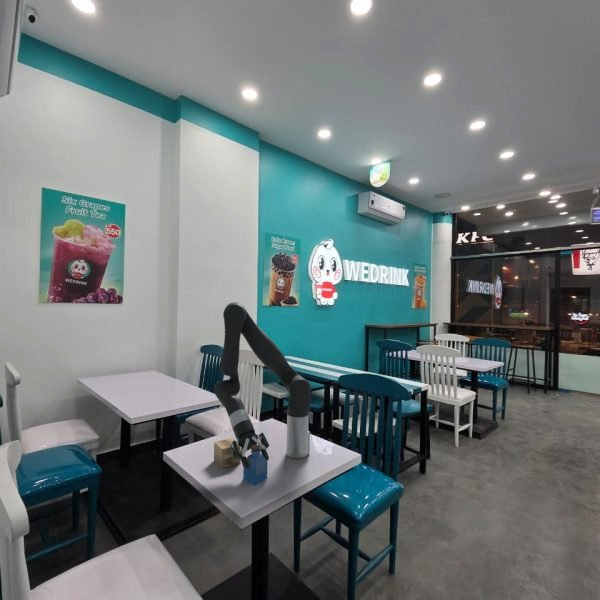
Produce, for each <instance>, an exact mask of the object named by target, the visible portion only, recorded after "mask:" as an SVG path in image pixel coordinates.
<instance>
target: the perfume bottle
mask: <svg viewBox="0 0 600 600" xmlns="http://www.w3.org/2000/svg"><path fill="white" fill-rule="evenodd" d="M250 450H251V451H250V453H251V454H249V455H247V456H246V458H247V461H248V463H249V467H248V468H247V469H245V468H244V467H243V470H242V472H243V473H242V474H243V478H242V480H243V481H245V482H247V483H249V484H250V485H253V486H257V485H258V483H259V484H260V482H261V483H262V482H264V481H266V480H267V479H268V461H267V460H266V459H265V457H264V456H263V455H262V454H261V449H260V446H259V445H258V444H257V445H253V446H252V449H250ZM265 479H266V480H265ZM256 484H257V485H256Z"/></svg>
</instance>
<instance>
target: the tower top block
mask: <svg viewBox="0 0 600 600" xmlns="http://www.w3.org/2000/svg"><path fill="white" fill-rule="evenodd" d="M234 440H235V441H237V439H235V438H234V437H230V438H226V439H222V440H217V441H214V442H213V443H214V446H213V453H214V452H215V453H216V454H217V455H218V456H219V457H220V459H221V460H222V459H226V458H229V457H233V456H234V455H233V452H232V448H231V443H232V442H233V441H234ZM238 450H239V453H240V451H241V447H240V446H239V445H238Z"/></svg>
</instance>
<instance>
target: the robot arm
mask: <svg viewBox="0 0 600 600" xmlns="http://www.w3.org/2000/svg"><path fill="white" fill-rule="evenodd" d="M222 315H223V322H224V323H223V324H224V325H223V326H224V341H223V348H222V354H221V363H220V374H222V375H223V376H227V377H229V379H223V380H218V381H216V383H215V384H214V387H213V390H214V394H215V396H216V398H217V399H218V401H219V402H220V403H221V405H222V407H223V408H225V411H226V413H227V416H228V419H229V423H230V427H231V428H232V431H233V433H234V436H235V438H236V439H234V441H233V442H232V443H231V448H232V452H233V455H234V458H235V459H240V460H241V464H242V467H243V469H244V468H245V469H247V468H248V467H249V463H248V461H247V456H245V455H246V452H248V451H250V450H251V449H252V446H253V445H259V446H260V449H261V451H260V454H261V455H263V456H264V457H265V459H266V460H267V462H268V461H269V459H270V456H269V454H268V451H267V449H268V448H269V447H270V443H269V442H268V440H267V438H266V436H265V433H264V432H260V433H259V434H257V433H256V431H255V426H254V425H253V423H252V420H251V418H250V415H249V414H248V411H247V410H246V407H245V405H244V402H243V401H242V399H241V398H240V397H235V396H237V395H239V392H240V391H241V382H240V376H239V362H240V345H241V344H240V342H241V335H242V336H243V337H244V339H245V341H246V343H247V345H248V346H249V347H250V349H251V351H252V352H253V353H254V354H255V356H256V357H257V358H258V360H259V361H260V362H261V363H262V364H263V365H264V366H265V367H266V368H267V369H268V370H269V371H270V372H272V373H273V374H274V375H275V376H276V377H277V379H279V381H280V382H281V384H282V385H283V387H284V388H285V390H286V391H287V393H288V394H289V405H288V406H287V409H286V411H287V412H286V414H287V415H286V416H287V417H286V452H285V453H286V456H287V457H288V458H290V459H303V458H306V457H307V456H308V455H310V454H311V453H310V449H311V446H310V445H311V443H310V442H311V432H310V431H309V414H310V413H309V411H310V409H311V397H312V396H311V395H312V393H311V392H312V389H311V384H310V382H309V381H308V380H307V379H306V378H305V377H303V376H302V375H300V374H299V373H298V372H297V371H296V370H295V369H294V368H293V367H292V366H291V365H290V364H289V363H288V360H287V359H286V357H285V355H284V354H283V353H282V351H281V349H280V348H279V347H278V345H277V344H276V343H275V342H274V341H273V340H272V338H270V337H269V336H268V335H267V333H266V332H264V330H263V329H261V327H260V326H258V325H257V323H256V322H255V320H253V318H252V317H251V315H250V313H249V312H248V311H247V309H246V308H245V306H244V305H243V304H241V302H230V303H228V304H227V305H226V306H225V308H224V310H223V313H222ZM235 440H236V441H235ZM238 445H239V446H240V447H241V451H240V453H239V450H238Z"/></svg>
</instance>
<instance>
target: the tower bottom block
mask: <svg viewBox="0 0 600 600" xmlns="http://www.w3.org/2000/svg"><path fill="white" fill-rule="evenodd" d="M213 461H215V462H216V463H217V464H218V465H219V466H218V465H217V466H218V467H219V468H220V469H222V470H224V469H227V468H231V467H233V465H234V466H237V465H240V464H242V462H241V460H240V459H235V458H234V456H233V457H229V458H226V459H222V460H221V459H220V457H219V456H218V455H217V454H216V453H215V452H214V451H213ZM215 462H214V463H215ZM216 463H215V464H216ZM239 463H240V464H239ZM236 464H237V465H236ZM226 467H227V468H226Z"/></svg>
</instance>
